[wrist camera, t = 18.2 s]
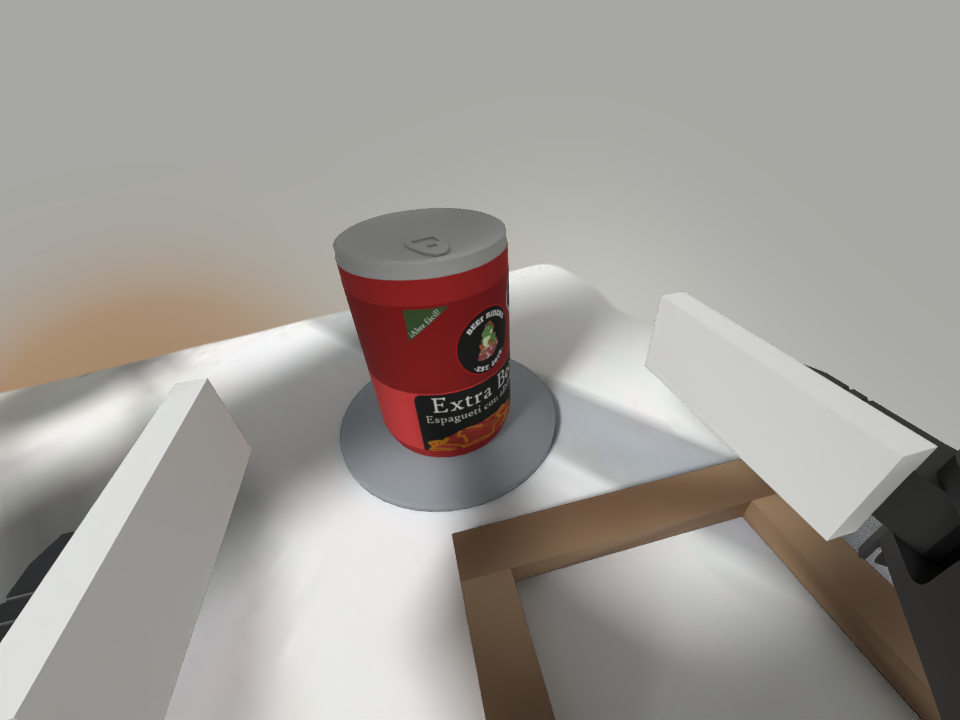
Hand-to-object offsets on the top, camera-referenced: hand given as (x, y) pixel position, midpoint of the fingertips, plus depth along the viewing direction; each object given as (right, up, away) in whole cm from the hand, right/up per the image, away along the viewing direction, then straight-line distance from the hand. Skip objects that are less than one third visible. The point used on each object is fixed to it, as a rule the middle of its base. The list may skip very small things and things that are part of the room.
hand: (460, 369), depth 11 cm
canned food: (-1, -3, +12) cm, 12 cm away
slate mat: (-1, -3, +12) cm, 13 cm away
